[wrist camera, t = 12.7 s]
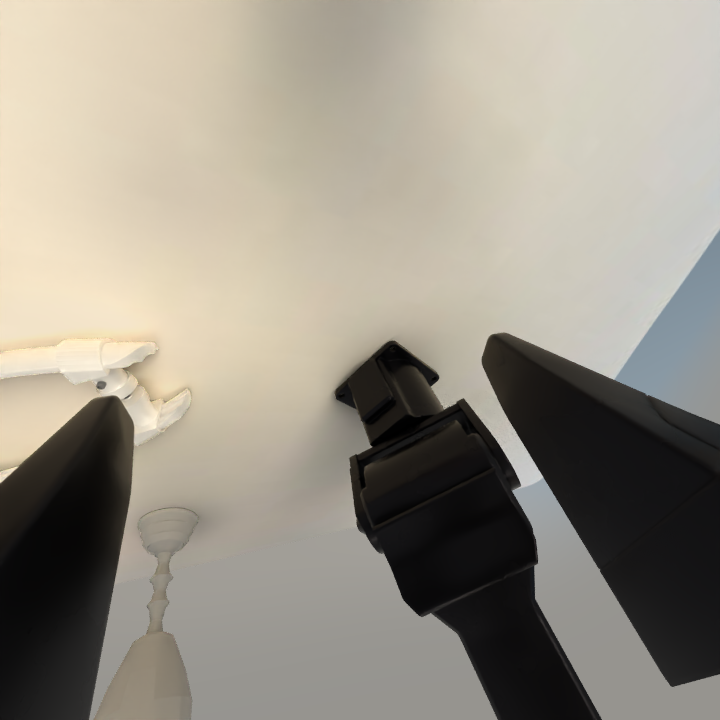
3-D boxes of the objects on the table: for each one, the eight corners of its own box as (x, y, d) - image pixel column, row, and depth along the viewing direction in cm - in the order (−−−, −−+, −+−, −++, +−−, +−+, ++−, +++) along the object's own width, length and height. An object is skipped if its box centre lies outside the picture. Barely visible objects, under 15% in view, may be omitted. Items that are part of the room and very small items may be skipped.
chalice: (209, 535, 37) (198, 805, 23) (133, 547, 34) (72, 855, 21) (206, 496, 32) (190, 801, 19) (118, 507, 30) (31, 862, 17)
